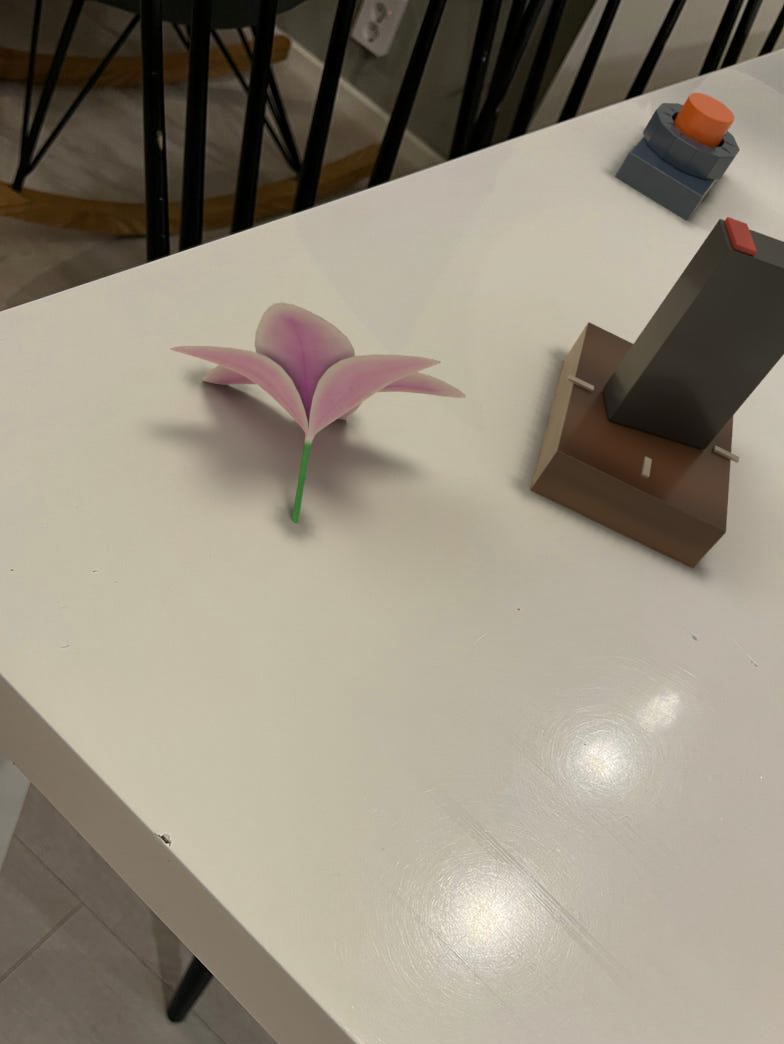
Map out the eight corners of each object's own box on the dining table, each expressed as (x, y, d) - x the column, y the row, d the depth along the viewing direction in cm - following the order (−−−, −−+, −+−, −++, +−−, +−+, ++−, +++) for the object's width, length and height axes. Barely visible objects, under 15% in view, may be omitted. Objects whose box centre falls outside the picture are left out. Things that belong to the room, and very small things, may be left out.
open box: (696, 417, 57) (828, 251, 49) (704, 450, 55) (843, 283, 47) (602, 388, 56) (722, 213, 48) (608, 420, 54) (733, 245, 46)
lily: (447, 512, 52) (489, 307, 49) (398, 587, 42) (447, 333, 38) (214, 461, 55) (237, 262, 51) (113, 519, 44) (132, 274, 40)
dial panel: (696, 575, 54) (735, 533, 52) (521, 490, 54) (552, 445, 51) (708, 435, 62) (742, 393, 59) (556, 361, 61) (584, 316, 59)
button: (710, 155, 76) (728, 127, 75) (667, 128, 77) (683, 101, 75) (722, 139, 79) (739, 113, 77) (679, 114, 79) (696, 87, 77)
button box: (687, 226, 77) (721, 175, 74) (609, 178, 77) (640, 125, 74) (720, 180, 83) (752, 132, 80) (647, 136, 84) (677, 87, 81)
